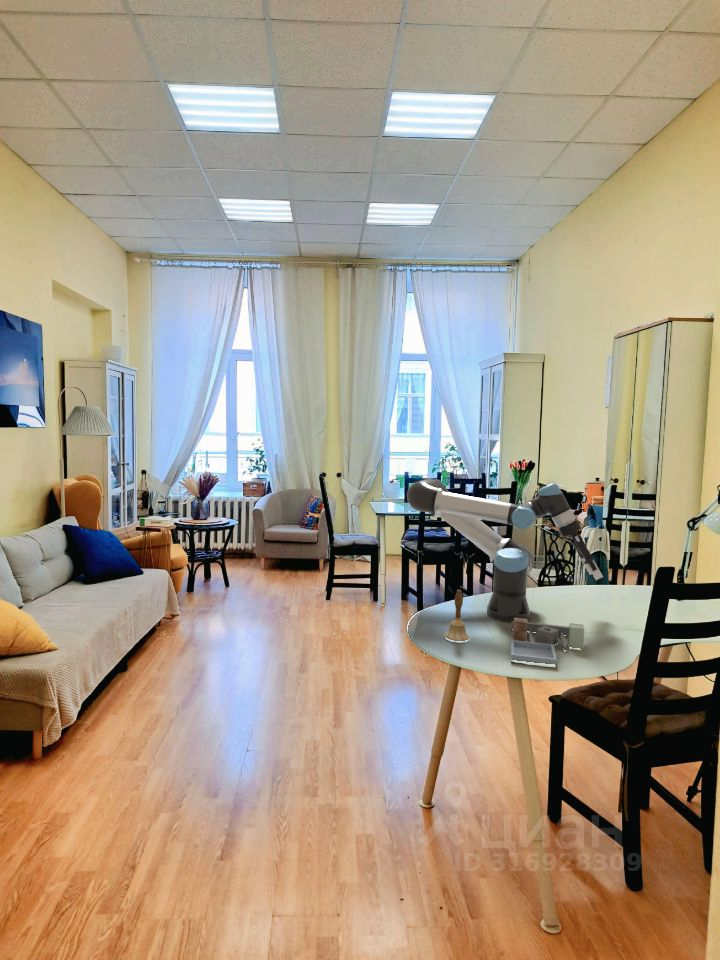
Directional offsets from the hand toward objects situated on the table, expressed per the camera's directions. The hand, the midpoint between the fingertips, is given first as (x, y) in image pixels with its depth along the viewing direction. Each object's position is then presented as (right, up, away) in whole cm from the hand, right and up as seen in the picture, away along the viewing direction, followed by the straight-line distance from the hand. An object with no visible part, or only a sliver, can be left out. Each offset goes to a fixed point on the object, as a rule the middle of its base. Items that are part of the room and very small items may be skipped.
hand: (596, 575), depth 227 cm
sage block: (-18, -18, -30) cm, 39 cm away
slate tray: (-34, -18, -40) cm, 55 cm away
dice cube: (-26, -18, -28) cm, 42 cm away
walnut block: (-34, -17, -26) cm, 46 cm away
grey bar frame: (-25, -17, -25) cm, 40 cm away
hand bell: (-54, -16, -26) cm, 62 cm away
